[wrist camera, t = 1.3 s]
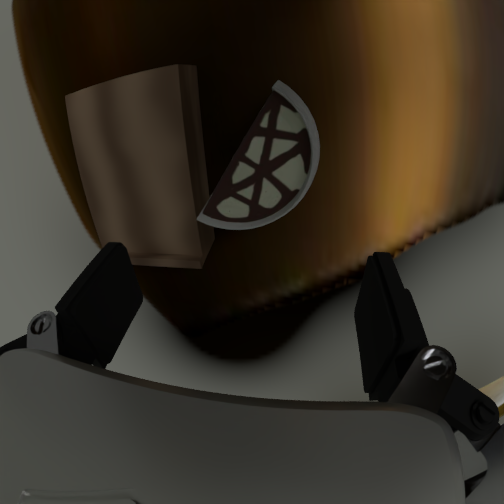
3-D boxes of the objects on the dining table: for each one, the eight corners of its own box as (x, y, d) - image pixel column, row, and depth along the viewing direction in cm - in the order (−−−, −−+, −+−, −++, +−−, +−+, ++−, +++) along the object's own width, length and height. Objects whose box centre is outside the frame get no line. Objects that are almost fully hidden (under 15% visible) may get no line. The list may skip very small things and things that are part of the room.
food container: (271, 207, 31) (262, 262, 23) (222, 179, 30) (193, 224, 22) (336, 114, 24) (359, 133, 16) (282, 80, 23) (276, 79, 15)
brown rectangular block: (196, 65, 23) (173, 63, 18) (214, 238, 34) (201, 268, 29) (92, 89, 25) (58, 97, 20) (124, 236, 36) (102, 262, 31)
